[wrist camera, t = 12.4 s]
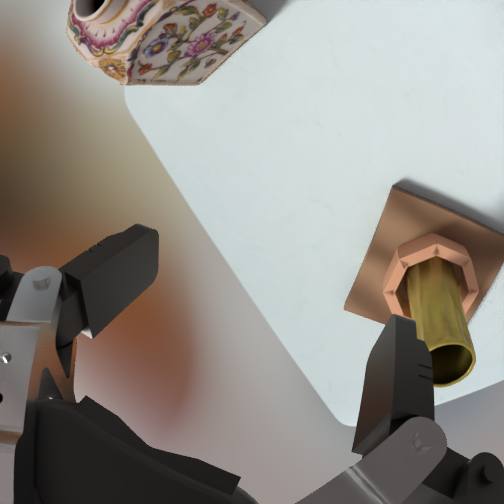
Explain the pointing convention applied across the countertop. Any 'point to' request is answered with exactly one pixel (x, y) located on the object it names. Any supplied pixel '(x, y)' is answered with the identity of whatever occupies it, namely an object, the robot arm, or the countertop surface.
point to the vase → (440, 319)
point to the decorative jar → (160, 37)
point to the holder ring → (423, 251)
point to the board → (411, 228)
